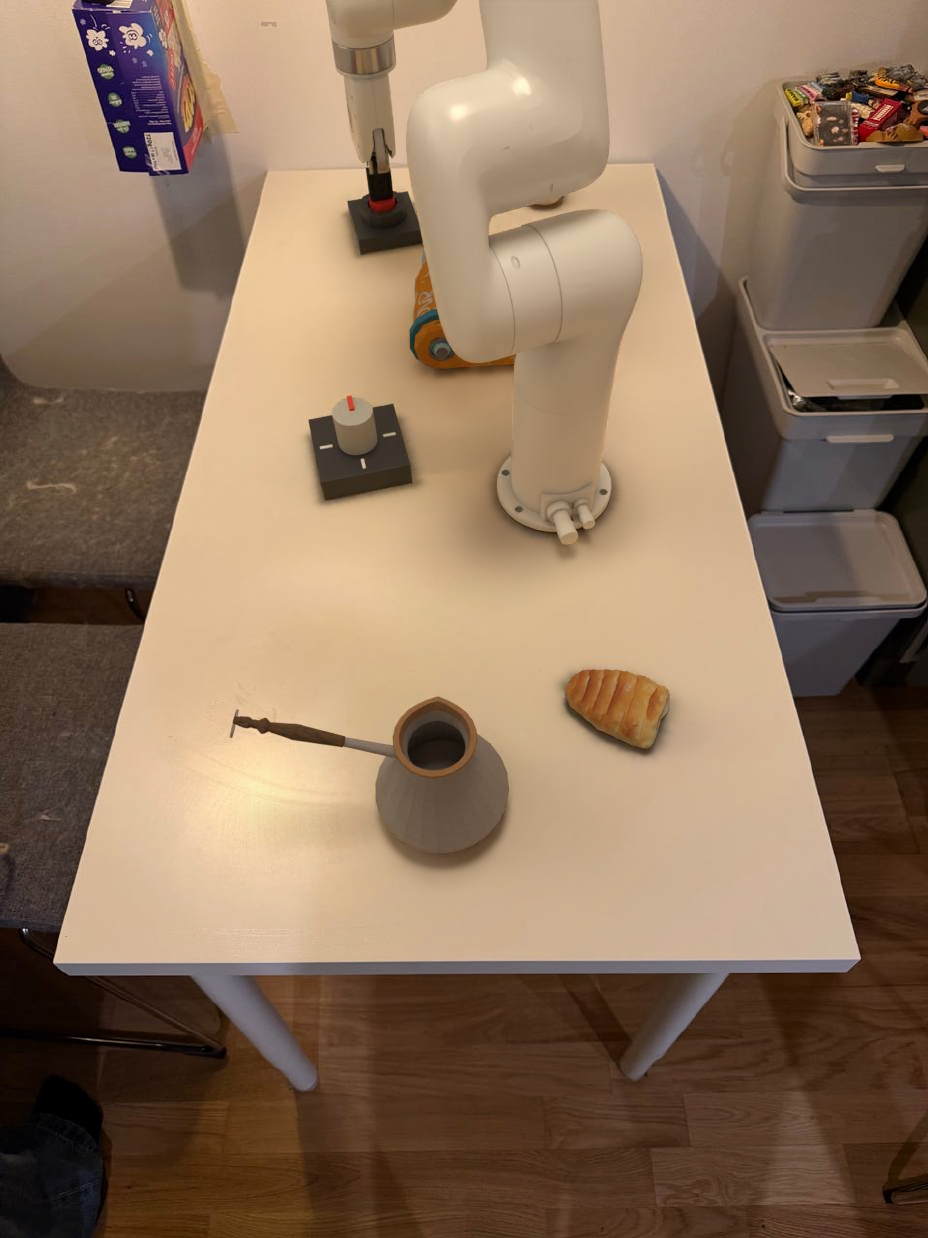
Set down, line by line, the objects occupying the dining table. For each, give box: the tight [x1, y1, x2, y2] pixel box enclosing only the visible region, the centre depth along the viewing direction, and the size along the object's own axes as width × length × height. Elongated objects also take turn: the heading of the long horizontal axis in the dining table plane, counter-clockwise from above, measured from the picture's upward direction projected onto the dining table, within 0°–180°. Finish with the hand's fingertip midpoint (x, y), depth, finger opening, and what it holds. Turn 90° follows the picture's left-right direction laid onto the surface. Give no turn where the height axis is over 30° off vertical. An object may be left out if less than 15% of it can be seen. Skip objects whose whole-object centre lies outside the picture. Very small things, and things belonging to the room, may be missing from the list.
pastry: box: [564, 668, 671, 749], centre depth 77 cm, size 9×7×4 cm
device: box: [408, 250, 516, 370], centre depth 106 cm, size 23×8×30 cm
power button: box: [369, 194, 395, 212], centre depth 118 cm, size 4×4×2 cm
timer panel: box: [307, 403, 413, 501], centre depth 95 cm, size 10×10×3 cm
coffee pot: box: [229, 696, 510, 854], centre depth 68 cm, size 21×12×15 cm, turn 87°
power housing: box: [346, 190, 423, 255], centre depth 120 cm, size 10×9×4 cm
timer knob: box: [331, 394, 378, 455], centre depth 92 cm, size 4×4×5 cm
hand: (381, 196), depth 117 cm, fingers closed
